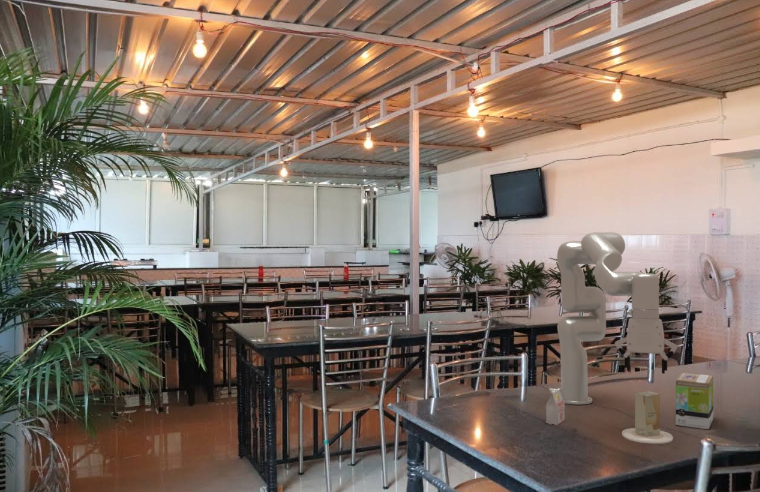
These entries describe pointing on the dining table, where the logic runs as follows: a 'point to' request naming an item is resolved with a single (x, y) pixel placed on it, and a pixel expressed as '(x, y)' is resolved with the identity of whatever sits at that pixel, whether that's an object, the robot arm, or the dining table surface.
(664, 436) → the saucer
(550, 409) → the white milk carton
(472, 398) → the dining table surface
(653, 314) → the robot arm
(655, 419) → the skincare box
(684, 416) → the tea box
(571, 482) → the dining table surface
